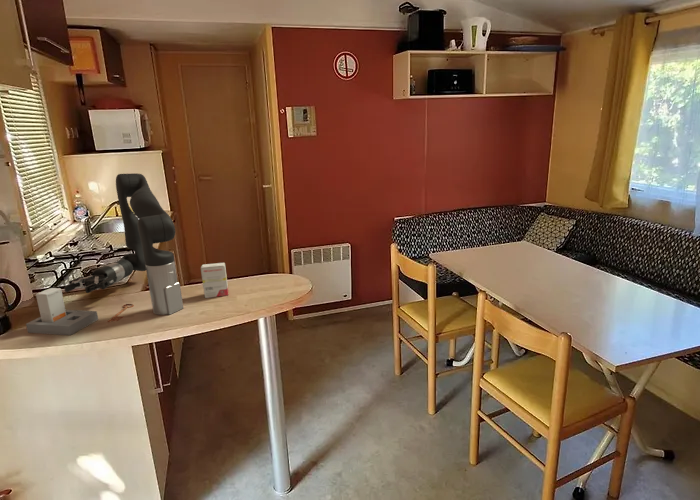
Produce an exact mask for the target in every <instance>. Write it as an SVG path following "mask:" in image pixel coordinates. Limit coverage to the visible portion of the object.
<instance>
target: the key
mask: <svg viewBox="0 0 700 500" xmlns="http://www.w3.org/2000/svg"><path fill="white" fill-rule="evenodd" d="M133 307H135V305H134V304H133V303H126V304H123V305H122V309H121V310H120V311H118V312H117V313H116V314H115V315H113V316H112V317H111V318H110V319H108V320H107V323H111V322H118V321H120V320H121V319H123V318H124V316H121V314H122V313H123V312H124V311H126V310H127V309H131V308H133Z"/></svg>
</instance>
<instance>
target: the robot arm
mask: <svg viewBox="0 0 700 500" xmlns="http://www.w3.org/2000/svg"><path fill="white" fill-rule="evenodd" d="M115 189H116V194H117V199H118V205H119V209H120V214H121V218H122V222H123V230H124V239H125V240H124V241H125V246H126V248H128V249H129V250H132V251H134V253H131V252H130V253H126V254H124V255H123V256H122V257H121V258H120V259H119V260H117V261H115V262H112V263H108V264H106V265H103V266H101V267H99V268H96V269H94V270H93V271H92V273H91V275H88V276H86V277H84V276H83V275H82V276H78V277H76V278H74V279H73V278H72V279H71V280H69V281H68V284H67V285H65V286H64V292H65V293H68V292H69V293H70V292H71V291H73V290H76V289H80V288H81V289H84V290H85V293H87V294H89V293H92V292H94V291H95V290H96V291H97V290H100V289H101V290H105V289H107V288H109V287H111V286H112V285H114V284H116V283H118V282H120V281H121V280H122V279H124V278H125V279H126V278H127V277H128V276H130V275H131V274H132V273H133V271H135V272H145V271H146V277H147V282H148V289H149V295H150V296H149V297H150V300H151V306H152V312H153V314H155V315H162V316H163V315H172V314H174V313H176V312H178V311H180V310H183V309H184V304H183V296H182V288H181V283H180V282H178V276H177V270H176V268H177V267H176V262H175V256H174V253H173V252H172V251H169V250H165V249H164V250H163V249H160V248H159V249H158V248H156V247H155V246H154V244H159V243H161V244H162V243H166V242H167V243H168V242H170V241H172V240H173V239H174V238H175V236H176V227H175V223H174V221H173V219H172V218H171V216H170V215H169V214H168V213H167V212H166V211H165V210H164V209H163V207H162V206H161V204H160V202H159V201H158V198H157V197H156V196H155V195H154V193H153V192H152V190H151V189H150V185H149V183H148V181H147V179H146V176H144V174H142V173H118V174H117V175H116V177H115ZM128 198H130V199H129V203H128ZM129 205H130V206H129ZM83 284H84V285H83Z"/></svg>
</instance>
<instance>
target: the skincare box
mask: <svg viewBox="0 0 700 500" xmlns="http://www.w3.org/2000/svg"><path fill="white" fill-rule="evenodd" d="M63 296H64V295H63V292H62V288H60V287H58V288H57V287H50V288H48V289H45V290H42V291H41V292H40V291H39V292H38V293H36V294H35V297H36V301H37V307H38V310H39V315H40V317H41V320H42V322H47V323H53V322H55V321H57V320H59V319H61V318H63V317H65V316H67V315H66V310H67V309H66V305H65V302H64V297H63Z"/></svg>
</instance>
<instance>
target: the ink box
mask: <svg viewBox="0 0 700 500" xmlns="http://www.w3.org/2000/svg"><path fill="white" fill-rule="evenodd" d="M200 273H201V279H202V280H201V281H202V287H203V293H204V299H208V298H215V297H216V298H218V297H223V296H225V297H226V296H229V287H228V286H229V285H228V278H227V277H228V276H227V269H226V263H225V262H217V263H207V264H206V263H205V264H202V265H201V266H200Z"/></svg>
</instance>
